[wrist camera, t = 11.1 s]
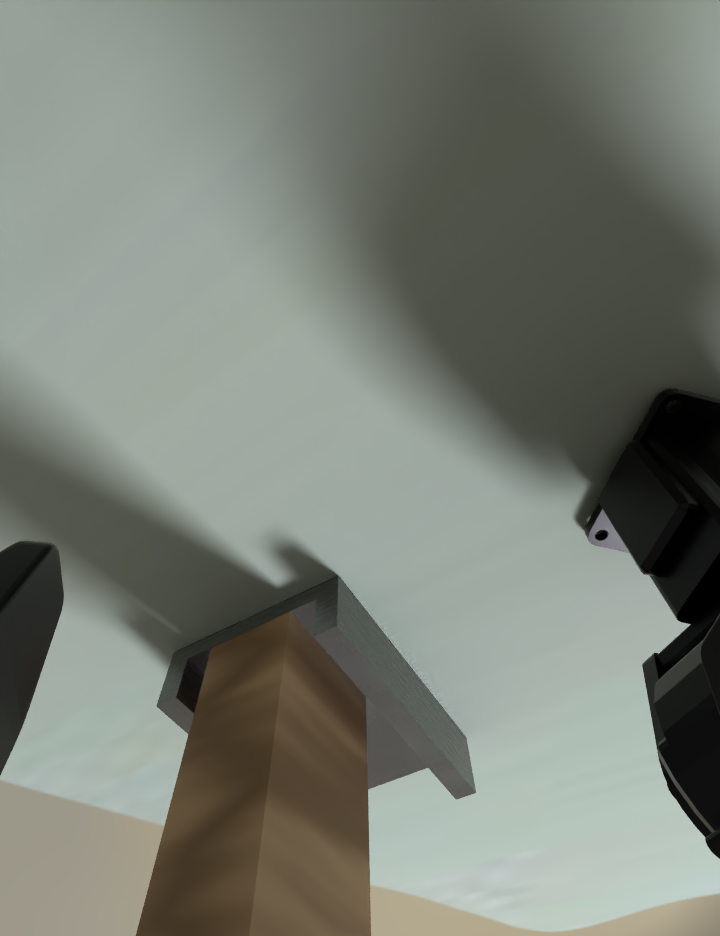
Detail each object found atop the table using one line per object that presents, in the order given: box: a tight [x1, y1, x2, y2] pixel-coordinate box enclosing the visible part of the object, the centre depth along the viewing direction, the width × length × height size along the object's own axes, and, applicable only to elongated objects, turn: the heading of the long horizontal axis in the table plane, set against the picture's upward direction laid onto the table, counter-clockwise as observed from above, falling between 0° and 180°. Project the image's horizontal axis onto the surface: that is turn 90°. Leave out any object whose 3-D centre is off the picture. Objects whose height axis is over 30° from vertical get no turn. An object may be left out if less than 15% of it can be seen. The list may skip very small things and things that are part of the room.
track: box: [157, 576, 476, 799], centre depth 28 cm, size 12×8×3 cm
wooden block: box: [136, 612, 371, 936], centre depth 20 cm, size 4×6×15 cm, turn 31°
